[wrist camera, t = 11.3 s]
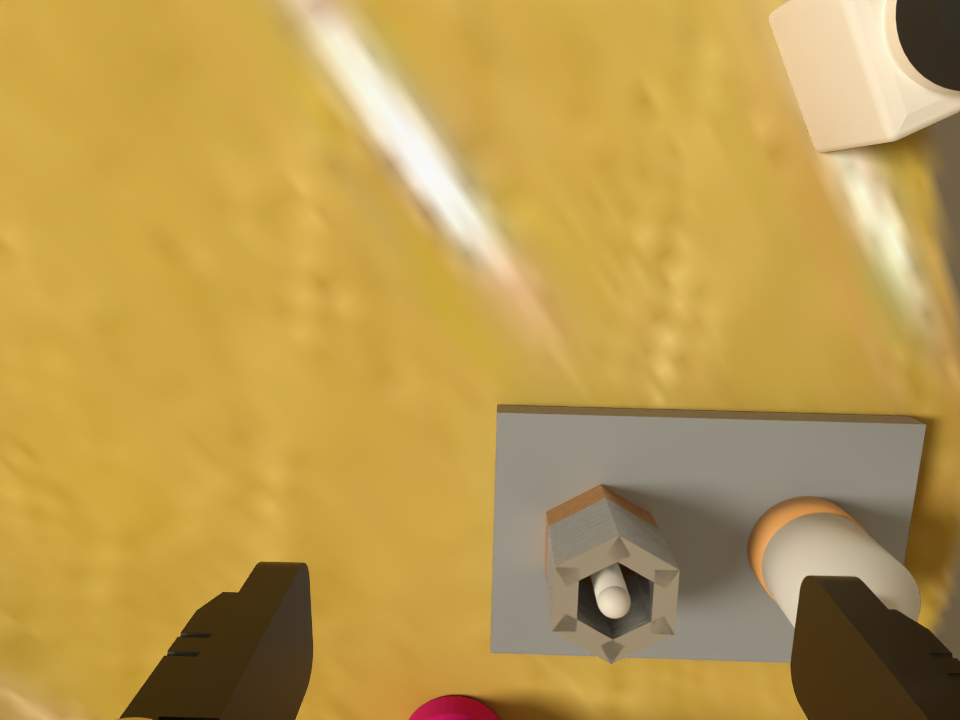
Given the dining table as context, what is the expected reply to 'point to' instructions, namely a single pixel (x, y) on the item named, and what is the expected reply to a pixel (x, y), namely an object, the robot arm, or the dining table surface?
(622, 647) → the sleeve
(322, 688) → the dining table surface
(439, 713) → the pepper mill
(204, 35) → the dining table surface
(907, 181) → the dining table surface
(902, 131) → the medicine bottle
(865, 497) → the pin board
